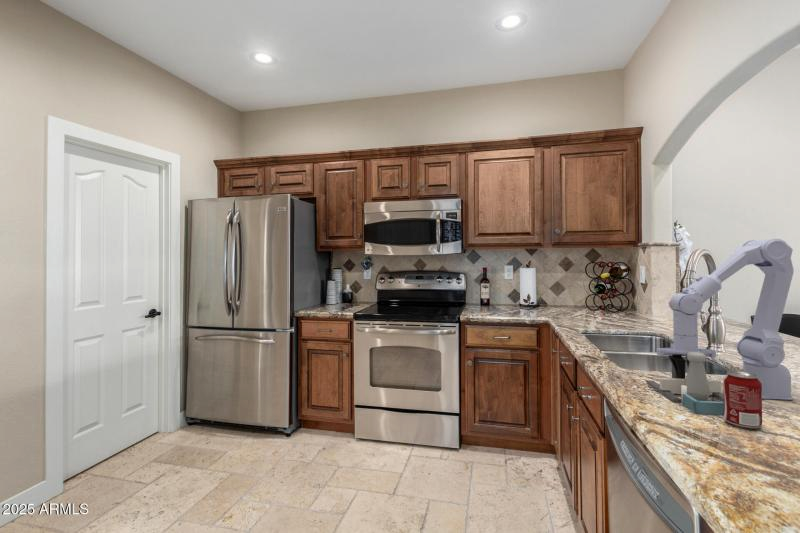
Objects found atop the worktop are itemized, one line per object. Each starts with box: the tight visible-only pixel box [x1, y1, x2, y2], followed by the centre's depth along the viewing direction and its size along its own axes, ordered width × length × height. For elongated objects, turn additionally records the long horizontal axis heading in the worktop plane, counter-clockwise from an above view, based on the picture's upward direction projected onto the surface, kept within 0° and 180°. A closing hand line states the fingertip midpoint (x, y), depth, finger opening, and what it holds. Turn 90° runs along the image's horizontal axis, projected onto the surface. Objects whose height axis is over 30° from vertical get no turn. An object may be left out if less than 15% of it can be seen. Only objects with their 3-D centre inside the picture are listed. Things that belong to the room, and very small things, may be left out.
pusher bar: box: [659, 363, 722, 396], centre depth 115 cm, size 15×8×8 cm, turn 79°
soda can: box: [722, 369, 763, 430], centre depth 91 cm, size 7×7×12 cm
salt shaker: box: [685, 352, 711, 401], centre depth 107 cm, size 6×6×13 cm
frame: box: [680, 385, 724, 416], centre depth 100 cm, size 12×7×5 cm, turn 79°
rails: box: [645, 379, 724, 404], centre depth 112 cm, size 15×17×1 cm
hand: (686, 380), depth 113 cm, fingers closed on pusher bar, 2 cm apart
